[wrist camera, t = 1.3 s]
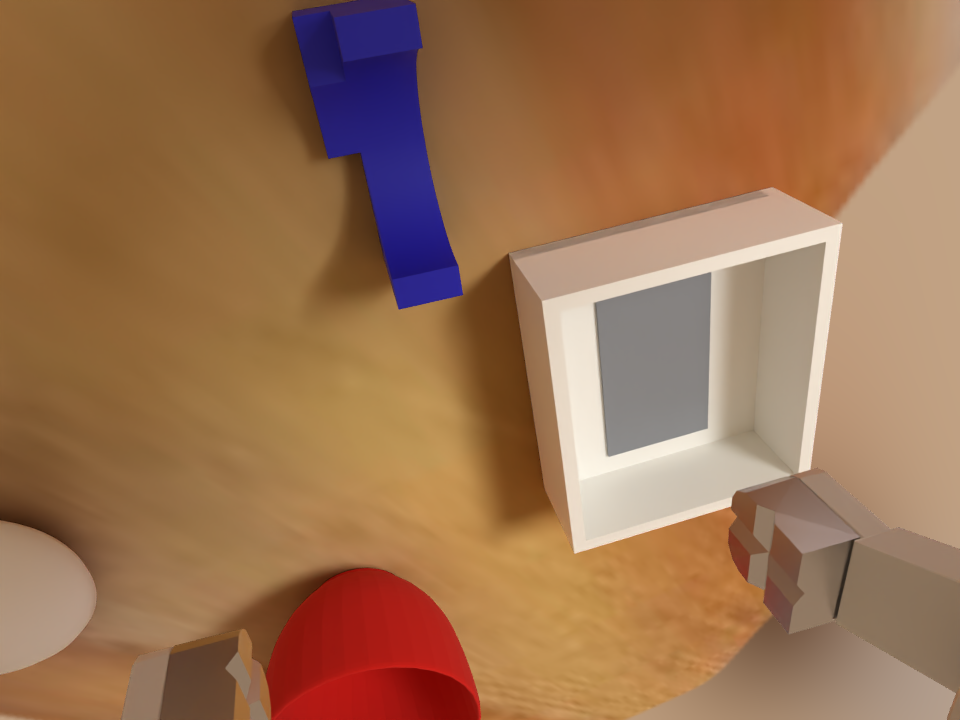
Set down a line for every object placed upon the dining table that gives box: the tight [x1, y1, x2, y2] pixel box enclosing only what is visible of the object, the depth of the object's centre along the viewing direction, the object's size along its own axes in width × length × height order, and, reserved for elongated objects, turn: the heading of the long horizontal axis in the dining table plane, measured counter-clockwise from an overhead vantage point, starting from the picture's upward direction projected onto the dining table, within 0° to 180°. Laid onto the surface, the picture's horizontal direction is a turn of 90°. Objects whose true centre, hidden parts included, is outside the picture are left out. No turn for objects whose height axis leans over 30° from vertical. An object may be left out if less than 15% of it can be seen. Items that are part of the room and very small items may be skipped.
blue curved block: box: [292, 0, 463, 309], centre depth 31 cm, size 12×4×6 cm, turn 7°
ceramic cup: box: [266, 568, 481, 720], centre depth 45 cm, size 13×17×10 cm
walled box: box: [509, 187, 843, 554], centre depth 41 cm, size 16×18×6 cm
